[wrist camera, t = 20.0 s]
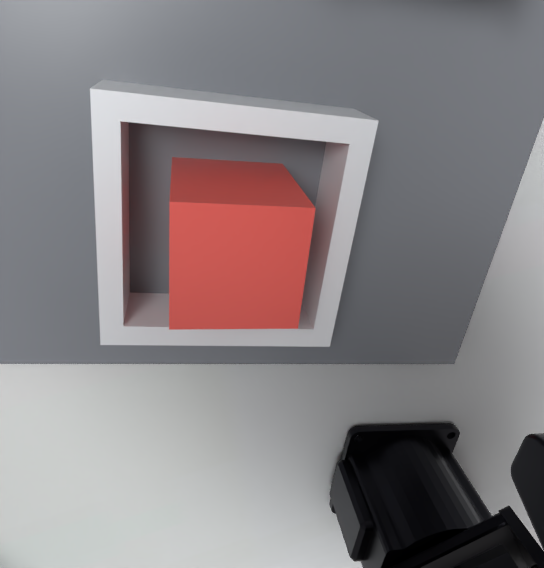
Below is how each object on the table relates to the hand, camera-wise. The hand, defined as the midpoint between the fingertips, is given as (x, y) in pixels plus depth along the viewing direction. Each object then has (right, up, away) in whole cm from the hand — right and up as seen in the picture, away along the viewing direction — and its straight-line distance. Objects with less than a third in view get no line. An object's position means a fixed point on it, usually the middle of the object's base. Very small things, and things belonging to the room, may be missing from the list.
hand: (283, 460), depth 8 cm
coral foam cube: (-2, +6, +10) cm, 12 cm away
